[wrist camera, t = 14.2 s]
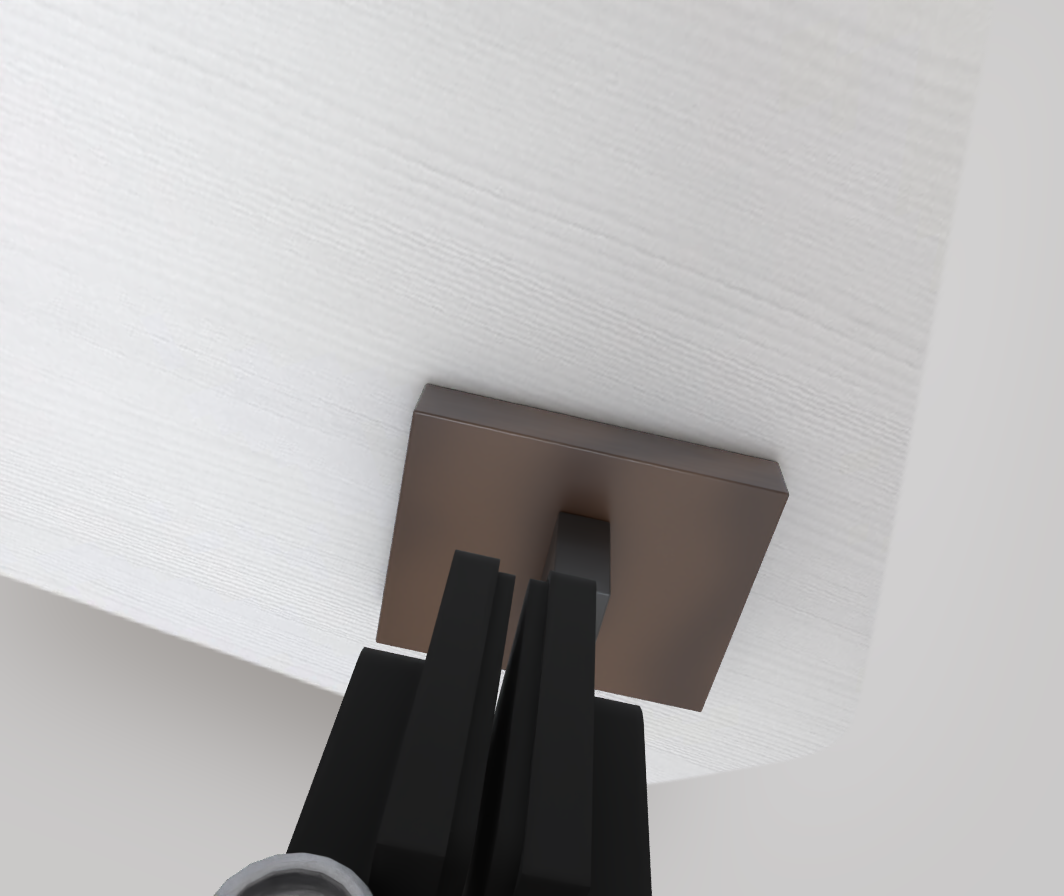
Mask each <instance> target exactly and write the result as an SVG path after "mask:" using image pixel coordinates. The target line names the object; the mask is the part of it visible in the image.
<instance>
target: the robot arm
mask: <svg viewBox="0 0 1064 896" xmlns="http://www.w3.org/2000/svg"><path fill="white" fill-rule="evenodd" d="M499 565H500V559H498V558H493V557H489V556H484V555H479V554H475V553H470V552H466V551H461V550H457V549H456V550H455V552H454V556H453V560H452V563H451V567H450V571H449V575H448V578H447V582H446V586H445V589H444V593H443V597H442V600H441V604H440V608H439V612H438V615H437V619H436V623H435V626H434V630H433V634H432V638H431V641H430V645H429V649H428V652H427V656H426V660H422V659H418V658H413V657H408V656H404V655H399V654H394V653H390V652H385V651H380V650H376V649H371V648H367V647H364V648H363V650H362V651H361V653H360V656H359V658H358V660H357V663H356V666H355V668H354V671H353V674H352V676H351V679H350V682H349V685H348V687H347V690H346V693H345V695H344V698H343V701H342V704H341V706H340V709H339V712H338V714H337V717H336V720H335V723H334V725H333V728H332V731H331V734H330V736H329V739H328V742H327V744H326V747H325V750H324V752H323V755H322V758H321V760H320V763H319V766H318V769H317V772H316V774H315V777H314V779H313V782H312V785H311V788H310V790H309V793H308V796H307V798H306V801H305V804H304V806H303V809H302V812H301V814H300V818H299V820H298V823H297V825H296V828H295V831H294V834H293V836H292V839H291V842H290V844H289V847H288V850H287V852H286V854H279V855H274V856H271V857H268V858H266V859H263V860H260V861H257V862H254V863H252V864H249V865H248V866H247V867H245V868H244V869H242V870H241V871H239V872H238V873H236V874H235V875H233V876H232V877H230V878H229V879H227V880H226V882H225V883H224V884H223V885H222V886H221V888H220V889H219V890H218V891H217V892H216V894H215V895H214V896H652V890H651V868H650V848H649V826H648V807H647V806H648V805H647V783H646V762H645V741H644V722H643V713H642V710H641V708H640V706H637V705H632V704H627V703H623V702H618V701H614V700H609V699H604V698H600V697H595V696H594V689H595V639H596V589H597V587H596V580H594V579H589V578H585V577H580V576H576V575H571V574H566V573H562V572H557V571H553V570H550V572H549V574H548V577H547V580H546V582H545V581H540V580H536V579H531V578H530V580H529V583H528V586H527V590H526V594H525V598H524V601H523V605H522V609H521V613H520V617H519V621H518V625H517V629H516V633H515V636H514V640H513V644H512V648H511V652H510V656H509V660H508V664H507V667H506V671H505V675H504V679H503V683H502V687H501V691H500V695H499V699H498V702H497V706H496V700H497V694H498V688H499V681H500V675H501V668H502V662H503V655H504V649H505V643H506V636H507V630H508V623H509V617H510V611H511V604H512V598H513V591H514V585H515V578H516V575H513V574H508V573H503V572H499ZM495 707H496V710H495ZM494 713H495V714H494Z"/></svg>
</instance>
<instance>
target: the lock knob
mask: <svg viewBox="0 0 1064 896" xmlns="http://www.w3.org/2000/svg"><path fill="white" fill-rule="evenodd" d="M550 570H553V571H557V572H562V573H566V574H571V575H576V576H580V577H585V578H589V579H594V580H596V587H597V589H596V639H595V643H596V640H597V637H598V634H599V631H600V627H601V624H602V621H603V618H604V615H605V611H606V608H607V605H608V602H609V599H610V596H611V532H610V523H609V522H605V521H600V520H595V519H591V518H586V517H582V516H577V515H573V514H568V513H564V512H560V513H559V514H558V518H557V521H556V525H555V529H554V533H553V536H552V540H551V544H550V548H549V551H548V555H547V559H546V563H545V567H544V570H543V574H542V578H541V581H545V582H546V580H547V577H548V574H549V572H550Z"/></svg>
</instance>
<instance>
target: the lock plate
mask: <svg viewBox="0 0 1064 896" xmlns="http://www.w3.org/2000/svg"><path fill="white" fill-rule="evenodd" d="M788 497H789V492H788V490H787V487H786V484H785V481H784V478H783V475H782V472H781V470H780V467H779V464H778V463H777V462H773V461H769V460H764V459H760V458H755V457H751V456H746V455H742V454H737V453H733V452H728V451H724V450H720V449H715V448H711V447H706V446H702V445H697V444H693V443H688V442H684V441H679V440H675V439H670V438H666V437H661V436H657V435H653V434H648V433H644V432H639V431H635V430H630V429H626V428H621V427H617V426H612V425H608V424H603V423H599V422H594V421H590V420H586V419H581V418H577V417H572V416H568V415H563V414H559V413H554V412H550V411H545V410H541V409H536V408H532V407H527V406H523V405H519V404H514V403H510V402H505V401H501V400H496V399H492V398H487V397H483V396H478V395H474V394H469V393H465V392H460V391H456V390H452V389H447V388H443V387H438V386H434V385H429V384H426V385H425V387H424V389H423V391H422V393H421V396H420V398H419V400H418V402H417V404H416V407H415V409H414V411H413V416H412V422H411V428H410V434H409V440H408V447H407V453H406V459H405V465H404V471H403V477H402V483H401V489H400V495H399V502H398V508H397V514H396V520H395V526H394V532H393V538H392V544H391V550H390V556H389V563H388V569H387V575H386V581H385V587H384V593H383V599H382V605H381V611H380V617H379V624H378V630H377V636H376V642H377V643H381V644H386V645H390V646H395V647H400V648H404V649H409V650H414V651H418V652H423V653H427V652H428V649H429V645H430V641H431V638H432V634H433V630H434V626H435V623H436V619H437V615H438V612H439V608H440V604H441V600H442V597H443V593H444V589H445V586H446V582H447V578H448V575H449V571H450V567H451V563H452V560H453V556H454V552H455V550H456V549H457V550H461V551H466V552H470V553H475V554H479V555H484V556H489V557H493V558H498V559H500V565H499V572H503V573H508V574H513V575H516V578H515V585H514V591H513V598H512V604H511V611H510V617H509V623H508V630H507V636H506V643H505V649H504V655H503V662H502V668H501V669H502V670H506V667H507V664H508V660H509V656H510V652H511V648H512V644H513V640H514V636H515V633H516V629H517V625H518V621H519V617H520V613H521V609H522V605H523V601H524V598H525V594H526V590H527V586H528V583H529V580H530V578H531V579H536V580H540V581H541V578H542V574H543V570H544V567H545V563H546V559H547V555H548V551H549V548H550V544H551V540H552V536H553V533H554V529H555V525H556V521H557V518H558V514H559V513H560V512H564V513H568V514H573V515H577V516H582V517H586V518H591V519H595V520H600V521H605V522H609V523H610V532H611V596H610V599H609V602H608V605H607V608H606V611H605V615H604V618H603V621H602V624H601V627H600V631H599V634H598V637H597V640H596V643H595V690H600V691H605V692H609V693H614V694H619V695H623V696H628V697H633V698H637V699H642V700H647V701H651V702H656V703H660V704H665V705H670V706H674V707H679V708H684V709H688V710H693V711H698V712H701V711H702V709H703V706H704V704H705V701H706V699H707V696H708V694H709V692H710V689H711V687H712V684H713V682H714V679H715V677H716V674H717V672H718V669H719V667H720V664H721V662H722V659H723V657H724V655H725V652H726V650H727V647H728V645H729V642H730V640H731V637H732V635H733V632H734V630H735V627H736V625H737V622H738V620H739V617H740V615H741V613H742V610H743V608H744V605H745V603H746V600H747V598H748V595H749V593H750V590H751V588H752V585H753V583H754V580H755V578H756V576H757V573H758V571H759V568H760V566H761V563H762V561H763V558H764V556H765V553H766V551H767V548H768V546H769V543H770V541H771V539H772V536H773V534H774V531H775V529H776V526H777V524H778V521H779V519H780V516H781V514H782V511H783V509H784V506H785V504H786V501H787V499H788Z"/></svg>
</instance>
